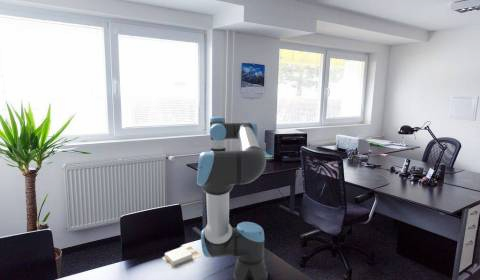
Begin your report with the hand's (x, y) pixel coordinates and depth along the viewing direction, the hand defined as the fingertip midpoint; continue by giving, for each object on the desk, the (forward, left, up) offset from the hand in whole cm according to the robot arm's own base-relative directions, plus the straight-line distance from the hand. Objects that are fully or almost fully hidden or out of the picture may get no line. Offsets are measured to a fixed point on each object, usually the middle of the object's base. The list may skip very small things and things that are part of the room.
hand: (218, 191), depth 155 cm
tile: (-1, +20, -26) cm, 33 cm away
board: (-1, +23, -28) cm, 37 cm away
